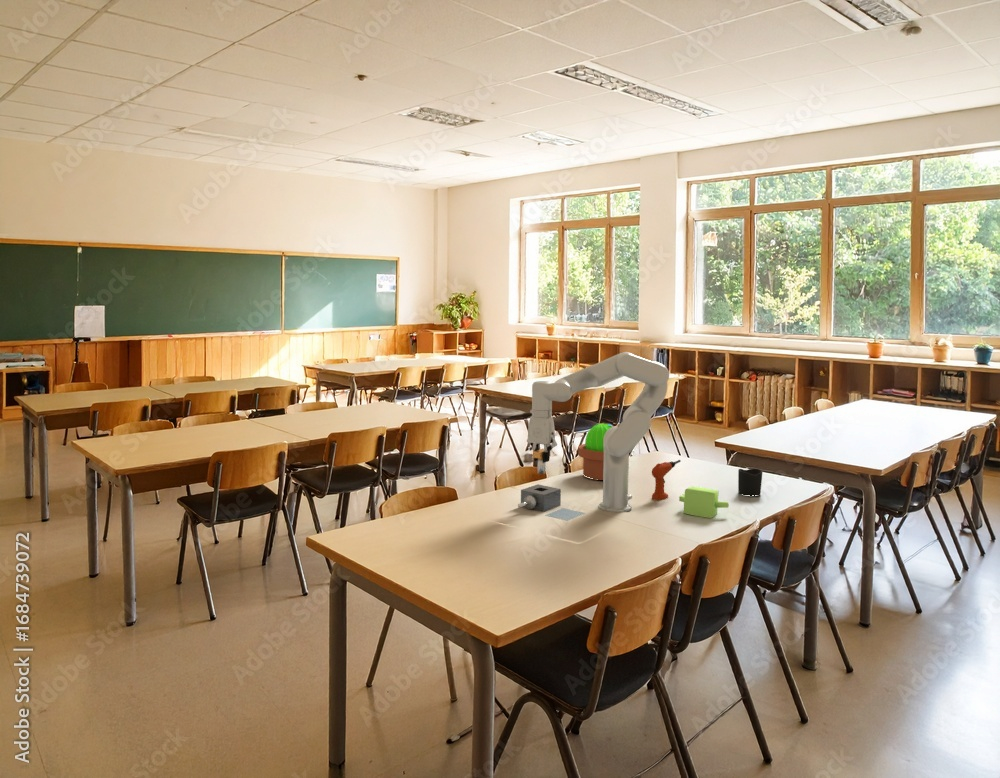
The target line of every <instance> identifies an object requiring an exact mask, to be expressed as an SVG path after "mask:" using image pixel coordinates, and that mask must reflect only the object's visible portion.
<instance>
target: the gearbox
mask: <svg viewBox="0 0 1000 778" xmlns="http://www.w3.org/2000/svg"><path fill="white" fill-rule="evenodd" d="M719 492H720V491H719V490H718V489H713V488H706V487H700V486H692V485H691V486H690V487H687V488H686V489H684V494H682V495H680V496H679V498H678V499H679V500H678V501H679V502H681V503H682V502H683V510H682V511H683V514H687V515H692V516H696V517H702V518H707V519H708V518H709V519H712V518H714V517H715V516H716V515H717V514H718V509H720V508H721V509H722V508H723V509H724V508H726V509H727V508H729V502H728V501H719Z"/></svg>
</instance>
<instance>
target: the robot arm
mask: <svg viewBox="0 0 1000 778" xmlns="http://www.w3.org/2000/svg"><path fill="white" fill-rule="evenodd" d="M623 377H626V378H628V379H631V380H634V381H637V382H640V383H644V387H643V389H642V391H641V392H640V393H639V394H638V396H637V397H636V399H635V400H634V401H633V402H632V403H631V404H630V405H629V407H628V408H626V410H625V411H624V412H623V416H622V421H621V423H620V424H619V425H618V426H614V427H612V428H610V429H608V430H607V432H606V433H605V435H604V440H603V446H604V469H603V481H602V502H599V503H598V509H600V510H603V511H606V512H611V513H623V512H624V513H626V512H627V513H628V512H630V511H631V510H632V509H633V508H632V505H631V504H630V503H629V500H631V499H632V498H633V496H632V494H629V468H630V466H629V465H630V454H629V453H631V452H632V450H634V448H635V447H636V446H637V445H638V444H639V442H640V441H641V440H642V439H643V438H644V437H645V435H646V434H647V433H648V431H649V430H650V427H651V425H652V420H651V419H652V416H653V415H654V414H655V412H656V411H657V410H658V409H659V407H660V406H661V404H662V403H663V401H664V400H665V398H666V395H667V391H668V381H669V379H670V372H669V368H667V366H666V365H664V364H663V363H660V362H659V361H655V360H654V361H653V360H652V361H651V360H649V359H646V358H643V357H641V356H638V355H635V354H633V353H631V352H628V351H624V352H621V353H617V354H615V355H613V356H610V357H609V358H608V357H607V358H606V359H604V360H601V361H599V362H597V363H595V364H592V365H589V366H587V367H585V368H583V369H581V370H577V371H575V372H572V373H570V374H568V375H565V376H563V377H561V378H559V379H557V380H556V381H554V382H550V381H547V380H537V381H534V382H533V383H532V385H531V409H530V410H529V413H530V414H531V416H530V417H529V421H528V428H527V439H526V442H527V443H528V444H529V445H530V446H531V447H532V451H536V450H539V449H540V445H543V449H544V451H545V452H543V462H545V463H547V462H550V457H551V451H552V450H553V448H555V447H557V445H558V443H557V441H556V431H555V422H554V417H552V416H553V415H552V414H553V412H552V411H553V401H555V402H559V403H562V402H563V403H564V402H567V401H569V400H570V399H571V398H572V395H574V394H576V393H578V392H581V391H583V390H585V389H586V390H587V389H590V388H591V389H592V388H598V387H599V388H600V387H602V386H605V385H607V384H608V383H611V382H613V381H615V380H618V379H621V378H623ZM533 461H536V462H538V458H533Z"/></svg>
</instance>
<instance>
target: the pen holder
mask: <svg viewBox="0 0 1000 778" xmlns="http://www.w3.org/2000/svg"><path fill="white" fill-rule="evenodd" d="M737 472H738V475H737V476H738V479H737V480H738V481H737V482H738V485H737V486H738V494H739V495H740V494H743V495H750V496H752V495H754V496H755V495H759V496H760V495H761V492H762V491H761V490H762V483H763V470H761V469H758V468H750V469H743V468H738V471H737ZM743 495H742V496H743Z"/></svg>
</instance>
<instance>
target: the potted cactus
mask: <svg viewBox="0 0 1000 778" xmlns="http://www.w3.org/2000/svg"><path fill="white" fill-rule="evenodd" d="M612 427H615V426H614V425H612V424H611V423H606V422H602V423H597V424H594V425H593V426H592V427H591V428H589V430H588V431H587V433H586V435H585V441H584V443H582V444H580V445H578V447H577V448H578V450H577V451H578V452H577V453H578V457H580V458H583V462H582V464H583V469H582V475H583V474H584V475H585V476H587V477H590V478H593V479H598V480H603V469H604V446H603V440H604V435H605V433H606V432H607V430H608V429H610V428H612Z"/></svg>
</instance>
